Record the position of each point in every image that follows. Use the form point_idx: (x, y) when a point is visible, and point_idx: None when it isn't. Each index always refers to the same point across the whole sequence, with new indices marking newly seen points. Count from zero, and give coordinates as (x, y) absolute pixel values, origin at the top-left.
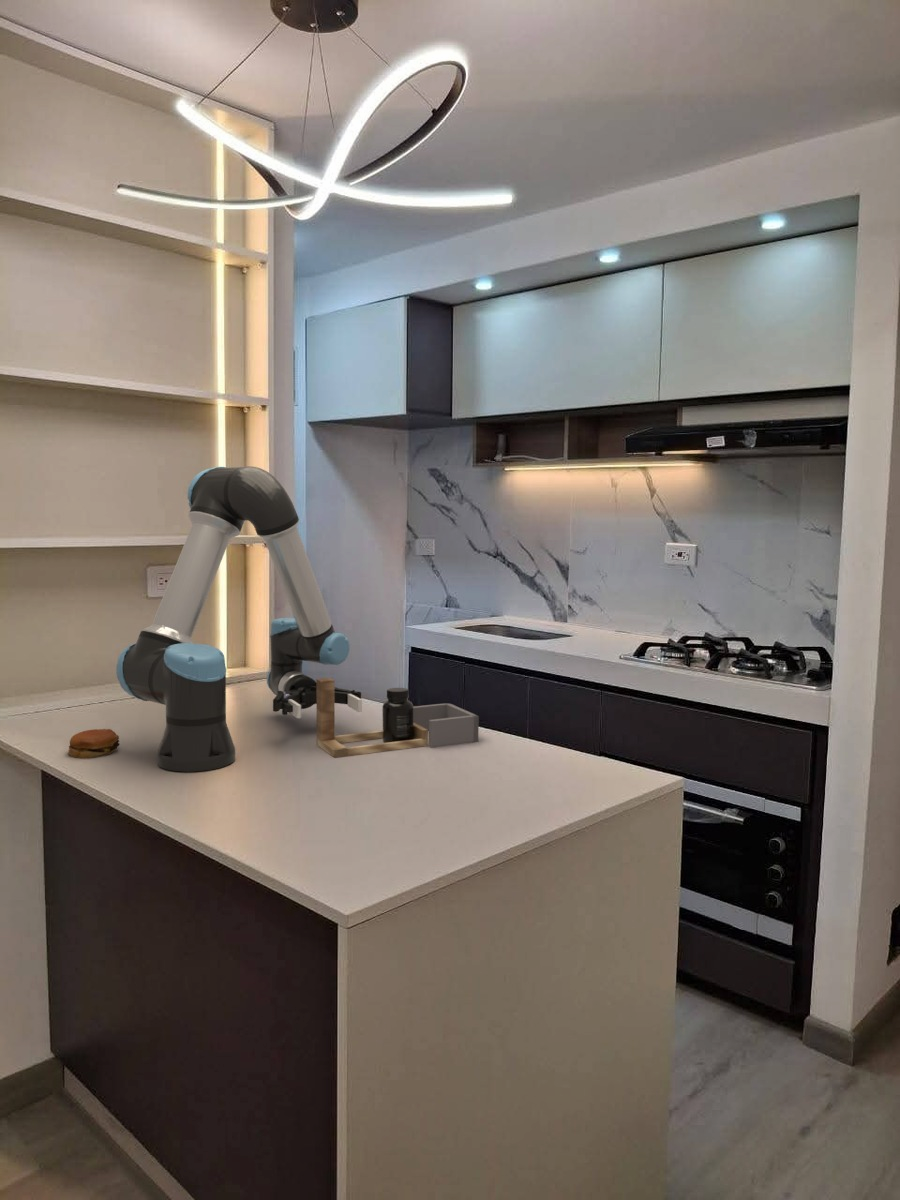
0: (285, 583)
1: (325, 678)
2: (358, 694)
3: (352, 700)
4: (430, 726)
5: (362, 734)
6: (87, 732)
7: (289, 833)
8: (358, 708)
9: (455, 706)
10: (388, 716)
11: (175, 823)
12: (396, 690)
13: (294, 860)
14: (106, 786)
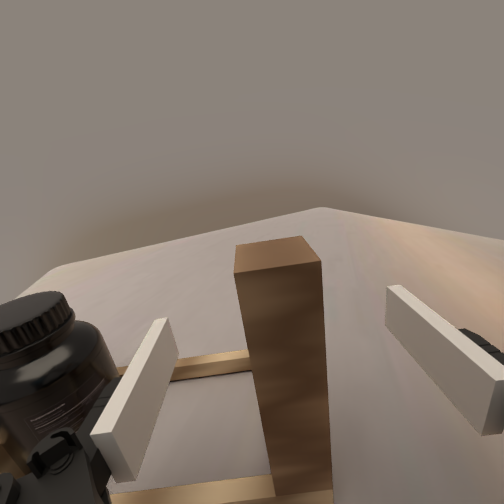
0: None
1: (263, 265)
2: (14, 481)
3: (150, 378)
4: None
5: (147, 491)
6: None
7: (352, 229)
8: (175, 343)
9: None
10: (108, 354)
11: (461, 233)
12: (37, 301)
13: (345, 217)
14: None
